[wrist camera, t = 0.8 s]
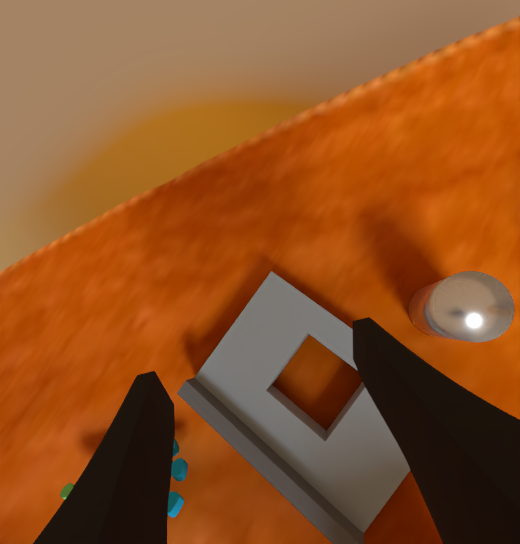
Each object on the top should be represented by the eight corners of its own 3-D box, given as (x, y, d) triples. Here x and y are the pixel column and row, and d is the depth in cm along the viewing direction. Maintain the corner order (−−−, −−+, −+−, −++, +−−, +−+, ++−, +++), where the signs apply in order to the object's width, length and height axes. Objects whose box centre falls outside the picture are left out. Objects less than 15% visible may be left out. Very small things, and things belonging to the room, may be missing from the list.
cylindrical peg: (476, 305, 24) (530, 298, 17) (445, 347, 24) (486, 357, 17) (427, 275, 25) (460, 257, 18) (397, 316, 25) (419, 313, 18)
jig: (446, 397, 23) (467, 411, 20) (351, 525, 24) (354, 564, 20) (276, 275, 28) (267, 267, 24) (198, 383, 28) (176, 393, 24)
